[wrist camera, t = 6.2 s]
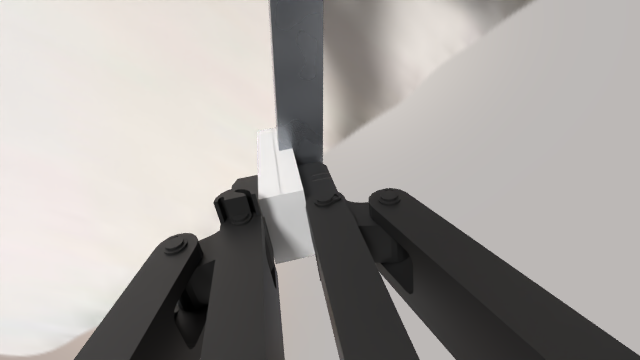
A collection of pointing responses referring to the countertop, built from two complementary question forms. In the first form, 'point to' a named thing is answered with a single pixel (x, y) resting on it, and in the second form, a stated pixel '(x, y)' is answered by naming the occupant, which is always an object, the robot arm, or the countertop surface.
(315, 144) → the grey lever handle
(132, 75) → the countertop surface
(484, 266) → the robot arm
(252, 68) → the countertop surface
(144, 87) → the countertop surface
